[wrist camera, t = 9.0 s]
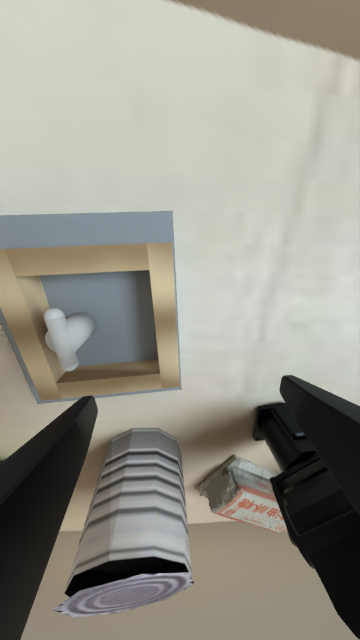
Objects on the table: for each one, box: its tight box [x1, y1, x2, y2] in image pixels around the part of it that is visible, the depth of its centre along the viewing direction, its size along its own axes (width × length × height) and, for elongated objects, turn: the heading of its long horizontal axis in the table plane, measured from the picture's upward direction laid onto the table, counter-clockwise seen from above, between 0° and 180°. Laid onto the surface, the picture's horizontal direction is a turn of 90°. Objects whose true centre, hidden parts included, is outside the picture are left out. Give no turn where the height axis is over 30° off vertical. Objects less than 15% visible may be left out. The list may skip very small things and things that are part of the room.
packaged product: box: [198, 455, 287, 532], centre depth 29 cm, size 18×5×10 cm
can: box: [54, 428, 194, 617], centre depth 20 cm, size 11×11×12 cm
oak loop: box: [0, 242, 180, 401], centre depth 15 cm, size 13×13×2 cm
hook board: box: [0, 211, 181, 404], centre depth 15 cm, size 18×16×6 cm
